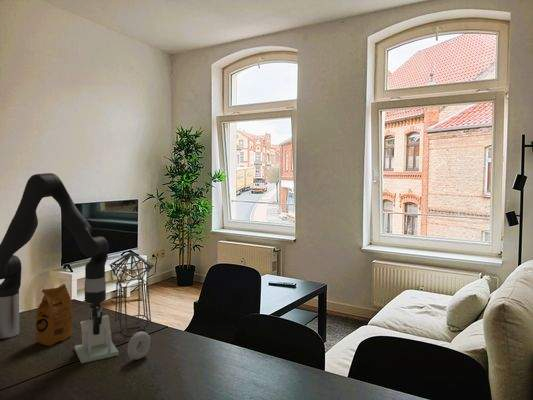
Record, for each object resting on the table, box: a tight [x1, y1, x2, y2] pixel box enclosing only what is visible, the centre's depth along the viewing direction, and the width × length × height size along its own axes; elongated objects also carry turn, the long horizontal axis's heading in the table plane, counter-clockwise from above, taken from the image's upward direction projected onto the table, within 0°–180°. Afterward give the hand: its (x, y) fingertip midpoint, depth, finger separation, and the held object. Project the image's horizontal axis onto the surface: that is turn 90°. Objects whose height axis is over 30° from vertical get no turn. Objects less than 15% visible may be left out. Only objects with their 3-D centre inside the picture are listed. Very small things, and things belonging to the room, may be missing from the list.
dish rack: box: [74, 328, 120, 364], centre depth 154 cm, size 14×13×8 cm
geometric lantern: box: [109, 252, 155, 337], centre depth 174 cm, size 16×16×35 cm
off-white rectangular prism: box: [79, 314, 113, 349], centre depth 156 cm, size 2×10×10 cm, turn 124°
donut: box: [126, 330, 151, 361], centre depth 149 cm, size 10×4×10 cm, turn 150°
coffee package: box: [35, 283, 73, 347], centre depth 165 cm, size 10×12×22 cm
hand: (95, 333), depth 156 cm, fingers closed on off-white rectangular prism, 2 cm apart
